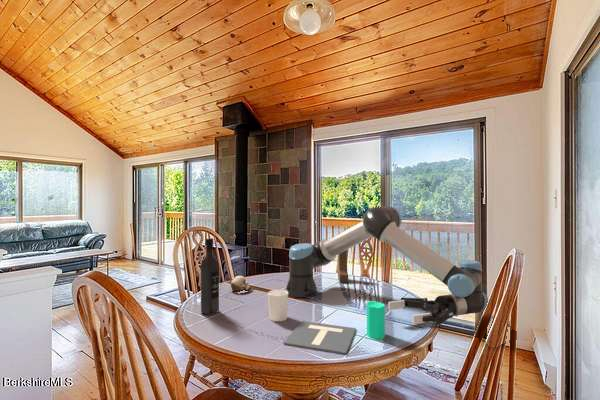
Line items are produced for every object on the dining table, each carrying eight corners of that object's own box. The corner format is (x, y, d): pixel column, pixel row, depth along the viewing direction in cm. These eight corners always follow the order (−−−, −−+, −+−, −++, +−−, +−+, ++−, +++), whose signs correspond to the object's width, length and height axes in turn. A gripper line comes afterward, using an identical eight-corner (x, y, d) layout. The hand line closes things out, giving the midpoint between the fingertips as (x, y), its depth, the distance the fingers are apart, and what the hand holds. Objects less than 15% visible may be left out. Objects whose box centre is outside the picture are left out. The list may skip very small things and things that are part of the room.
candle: (364, 331, 106) (364, 297, 106) (381, 331, 107) (381, 296, 107) (369, 339, 100) (369, 303, 100) (387, 338, 101) (387, 302, 101)
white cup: (272, 324, 113) (272, 296, 113) (265, 316, 120) (264, 291, 120) (292, 320, 117) (291, 293, 117) (283, 313, 124) (283, 288, 124)
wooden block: (348, 283, 167) (348, 250, 167) (340, 283, 167) (339, 250, 167) (346, 278, 176) (346, 247, 176) (338, 278, 176) (338, 247, 176)
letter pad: (283, 344, 97) (283, 342, 97) (301, 322, 114) (301, 320, 114) (346, 354, 91) (346, 352, 91) (355, 329, 108) (355, 327, 108)
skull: (241, 283, 164) (250, 271, 160) (250, 299, 159) (259, 287, 154) (222, 287, 155) (230, 274, 151) (231, 305, 150) (240, 292, 145)
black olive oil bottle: (220, 311, 127) (219, 238, 126) (210, 315, 122) (209, 240, 121) (210, 308, 129) (209, 237, 129) (199, 313, 124) (199, 239, 124)
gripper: (478, 329, 101) (425, 338, 94) (426, 304, 125) (380, 310, 118) (478, 306, 101) (425, 314, 94) (426, 286, 125) (380, 291, 118)
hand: (400, 312), depth 106 cm, fingers open, 13 cm apart
